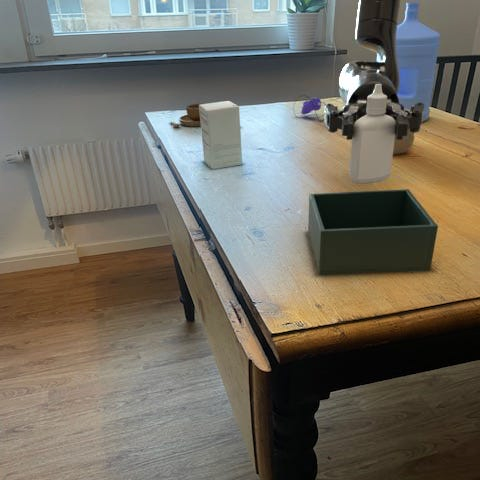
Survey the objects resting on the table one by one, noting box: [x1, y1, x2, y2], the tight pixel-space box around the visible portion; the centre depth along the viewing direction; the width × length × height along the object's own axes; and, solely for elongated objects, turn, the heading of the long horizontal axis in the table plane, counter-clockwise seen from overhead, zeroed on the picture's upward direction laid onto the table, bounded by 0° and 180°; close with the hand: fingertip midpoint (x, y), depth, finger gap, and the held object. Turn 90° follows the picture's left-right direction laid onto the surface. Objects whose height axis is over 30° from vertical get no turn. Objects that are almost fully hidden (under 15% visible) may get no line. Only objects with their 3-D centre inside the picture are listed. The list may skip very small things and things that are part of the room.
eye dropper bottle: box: [348, 84, 396, 185], centre depth 66 cm, size 4×6×12 cm
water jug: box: [376, 1, 441, 123], centre depth 134 cm, size 16×16×28 cm
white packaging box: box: [199, 100, 243, 170], centre depth 112 cm, size 7×7×13 cm
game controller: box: [292, 95, 326, 122], centre depth 147 cm, size 10×8×10 cm
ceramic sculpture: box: [393, 129, 415, 155], centre depth 116 cm, size 11×9×15 cm
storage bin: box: [307, 188, 439, 276], centre depth 73 cm, size 15×14×7 cm
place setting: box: [170, 103, 202, 128], centre depth 147 cm, size 18×20×6 cm
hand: (375, 131), depth 63 cm, fingers closed on eye dropper bottle, 5 cm apart
